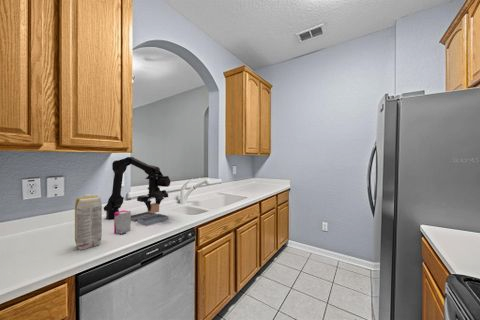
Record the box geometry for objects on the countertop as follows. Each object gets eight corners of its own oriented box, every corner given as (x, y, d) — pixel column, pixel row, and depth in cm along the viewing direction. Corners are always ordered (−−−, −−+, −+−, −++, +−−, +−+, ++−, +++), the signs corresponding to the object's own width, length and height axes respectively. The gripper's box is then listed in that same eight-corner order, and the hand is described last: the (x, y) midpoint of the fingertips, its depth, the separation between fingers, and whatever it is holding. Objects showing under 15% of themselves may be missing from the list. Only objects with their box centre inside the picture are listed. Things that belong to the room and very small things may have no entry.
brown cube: (152, 213, 121) (152, 205, 120) (147, 212, 123) (147, 204, 123) (159, 211, 125) (159, 203, 125) (154, 210, 127) (154, 202, 127)
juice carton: (98, 240, 96) (98, 192, 96) (102, 244, 91) (103, 194, 90) (73, 246, 89) (73, 195, 88) (77, 251, 84) (77, 197, 83)
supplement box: (131, 230, 108) (131, 210, 108) (121, 234, 102) (121, 213, 102) (123, 229, 110) (123, 209, 110) (113, 233, 104) (113, 212, 104)
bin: (135, 222, 122) (135, 219, 122) (126, 219, 127) (126, 216, 127) (156, 216, 135) (156, 213, 135) (148, 214, 140) (148, 211, 140)
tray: (146, 226, 115) (146, 222, 115) (137, 223, 120) (137, 219, 120) (168, 219, 128) (168, 216, 128) (159, 217, 133) (159, 213, 133)
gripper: (147, 189, 112) (146, 215, 112) (173, 185, 127) (173, 208, 127) (136, 187, 118) (136, 212, 118) (163, 184, 133) (163, 206, 133)
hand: (153, 210), depth 124 cm, fingers closed on brown cube, 5 cm apart
